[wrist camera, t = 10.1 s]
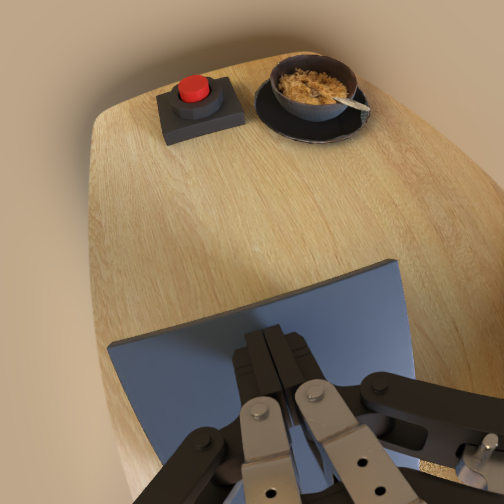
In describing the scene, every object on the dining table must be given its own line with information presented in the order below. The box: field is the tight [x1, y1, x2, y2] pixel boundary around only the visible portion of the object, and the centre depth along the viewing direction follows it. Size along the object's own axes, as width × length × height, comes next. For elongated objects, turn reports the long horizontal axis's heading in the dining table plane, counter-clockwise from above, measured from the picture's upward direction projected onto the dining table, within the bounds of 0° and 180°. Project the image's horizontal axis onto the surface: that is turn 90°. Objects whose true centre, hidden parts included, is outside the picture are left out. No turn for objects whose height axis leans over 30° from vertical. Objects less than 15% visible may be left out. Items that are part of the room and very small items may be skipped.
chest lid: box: [107, 259, 419, 504], centre depth 14 cm, size 16×14×1 cm
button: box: [178, 75, 210, 103], centre depth 35 cm, size 4×4×2 cm
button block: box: [156, 77, 245, 146], centre depth 38 cm, size 10×8×4 cm
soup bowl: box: [254, 55, 370, 143], centre depth 36 cm, size 15×16×7 cm
